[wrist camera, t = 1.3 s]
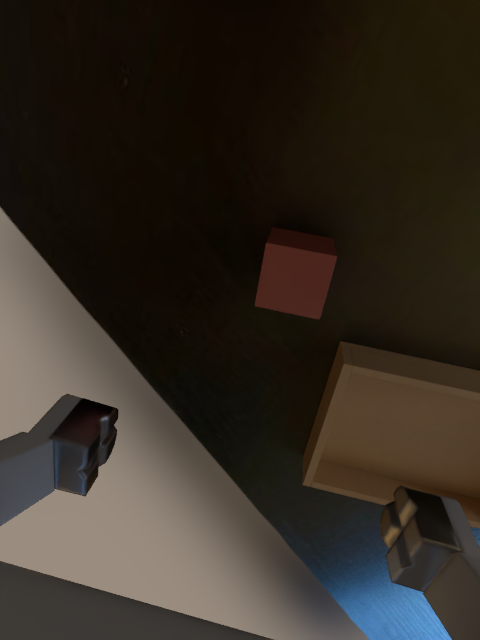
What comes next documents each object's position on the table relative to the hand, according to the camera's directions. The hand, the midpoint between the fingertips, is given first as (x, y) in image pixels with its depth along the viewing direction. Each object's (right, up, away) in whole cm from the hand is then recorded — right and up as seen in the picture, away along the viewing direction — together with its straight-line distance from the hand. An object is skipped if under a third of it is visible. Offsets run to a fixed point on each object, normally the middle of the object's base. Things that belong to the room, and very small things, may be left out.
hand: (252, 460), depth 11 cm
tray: (+17, -6, +26) cm, 32 cm away
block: (+4, +9, +21) cm, 23 cm away
